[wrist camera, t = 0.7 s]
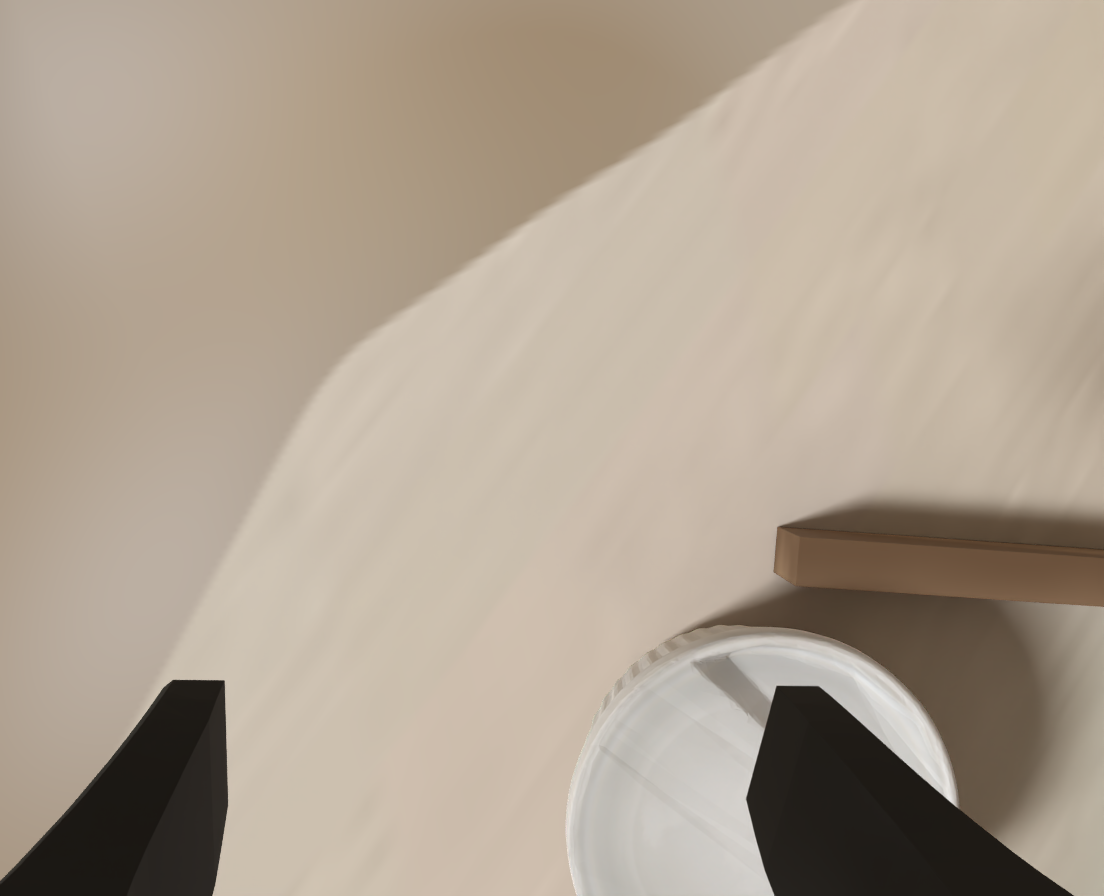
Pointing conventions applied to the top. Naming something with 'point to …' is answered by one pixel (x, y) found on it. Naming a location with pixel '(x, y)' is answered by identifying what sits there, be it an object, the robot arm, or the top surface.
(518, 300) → the top surface
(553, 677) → the top surface
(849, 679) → the ramekin
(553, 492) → the top surface
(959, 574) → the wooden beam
